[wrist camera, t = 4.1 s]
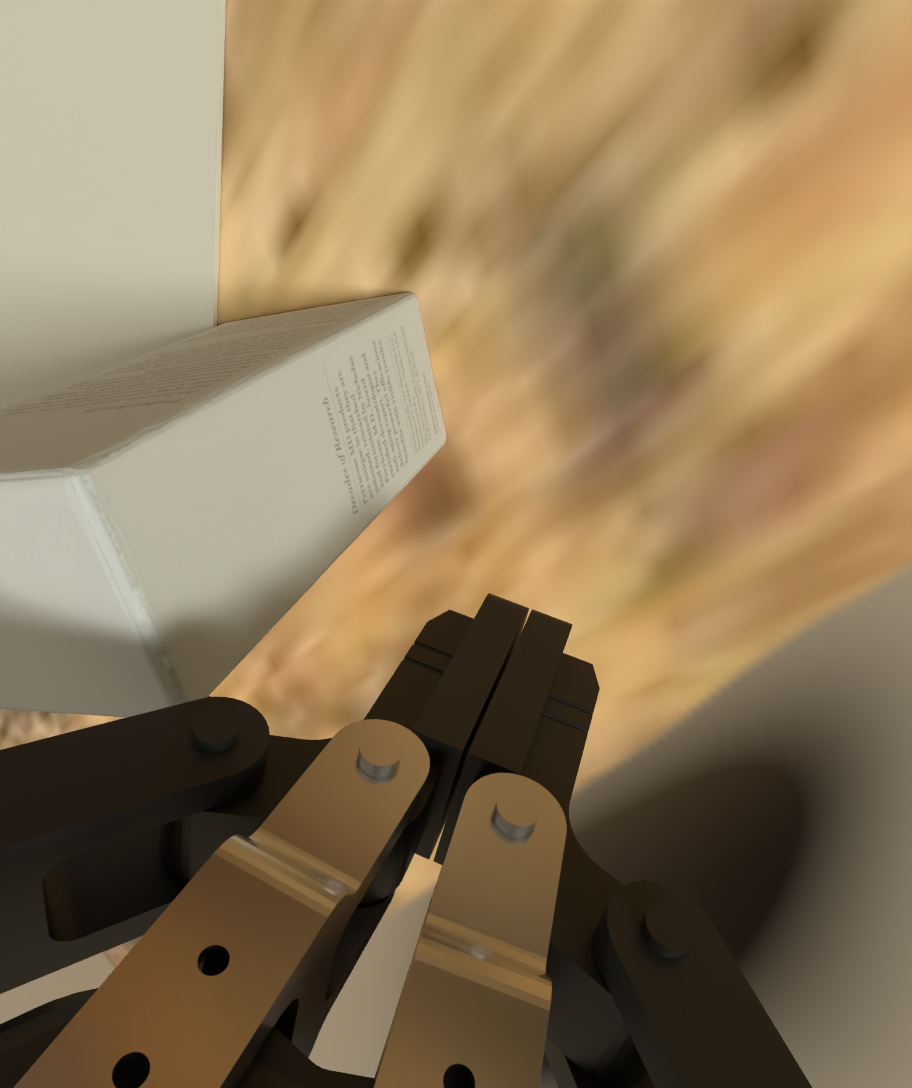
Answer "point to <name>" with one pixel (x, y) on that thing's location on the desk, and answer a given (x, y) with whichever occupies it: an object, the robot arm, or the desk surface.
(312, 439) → the skincare box
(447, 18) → the desk surface
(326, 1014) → the robot arm
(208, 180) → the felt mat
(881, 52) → the desk surface
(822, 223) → the desk surface
